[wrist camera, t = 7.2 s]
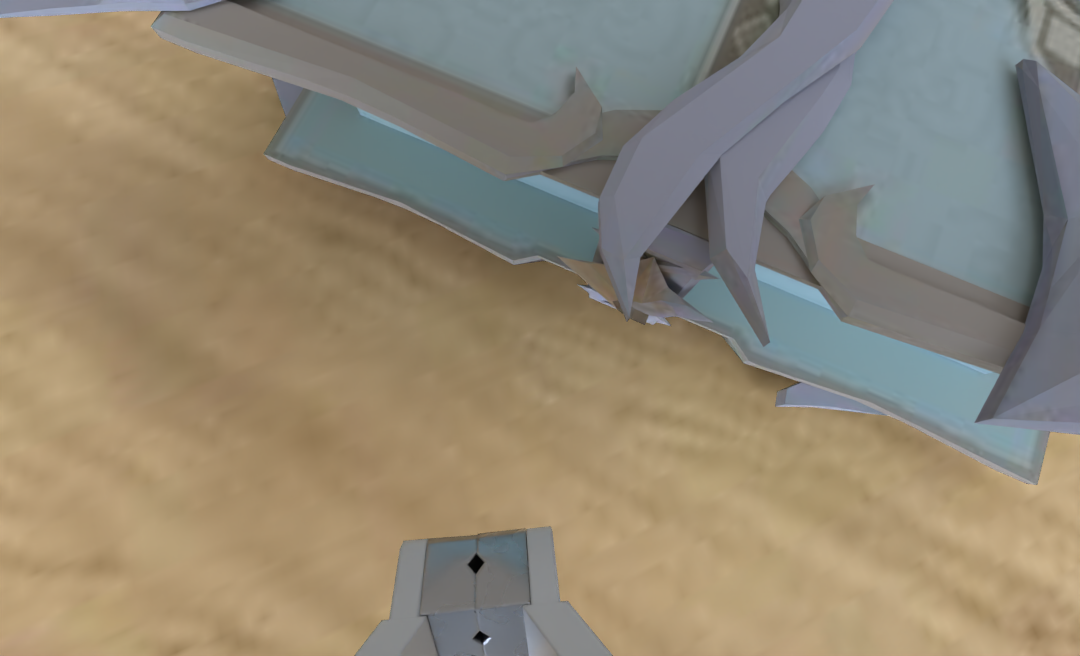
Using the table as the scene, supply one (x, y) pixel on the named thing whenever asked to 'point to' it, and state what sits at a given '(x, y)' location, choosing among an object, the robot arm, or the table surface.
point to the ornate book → (727, 173)
